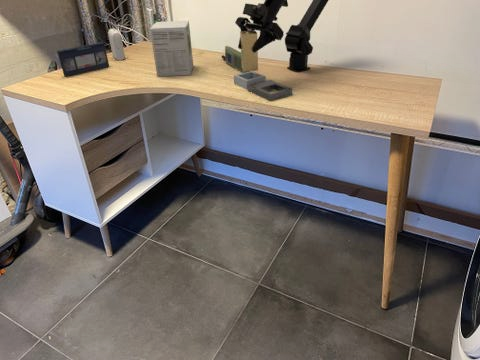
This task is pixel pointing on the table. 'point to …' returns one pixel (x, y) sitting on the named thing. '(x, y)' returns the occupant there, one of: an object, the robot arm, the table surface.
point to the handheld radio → (233, 58)
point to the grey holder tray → (269, 85)
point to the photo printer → (116, 44)
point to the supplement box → (172, 48)
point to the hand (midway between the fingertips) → (246, 50)
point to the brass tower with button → (248, 51)
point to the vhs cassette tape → (83, 59)
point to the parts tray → (248, 79)
